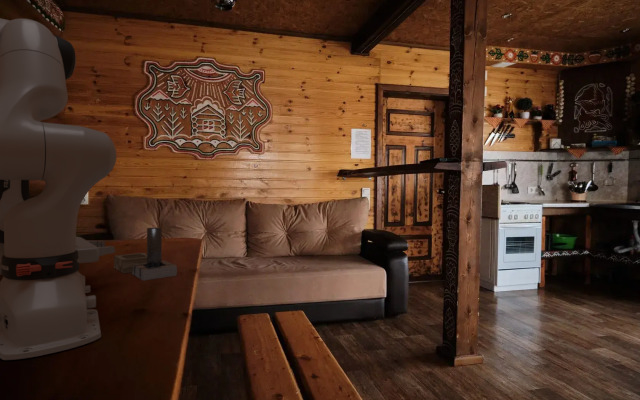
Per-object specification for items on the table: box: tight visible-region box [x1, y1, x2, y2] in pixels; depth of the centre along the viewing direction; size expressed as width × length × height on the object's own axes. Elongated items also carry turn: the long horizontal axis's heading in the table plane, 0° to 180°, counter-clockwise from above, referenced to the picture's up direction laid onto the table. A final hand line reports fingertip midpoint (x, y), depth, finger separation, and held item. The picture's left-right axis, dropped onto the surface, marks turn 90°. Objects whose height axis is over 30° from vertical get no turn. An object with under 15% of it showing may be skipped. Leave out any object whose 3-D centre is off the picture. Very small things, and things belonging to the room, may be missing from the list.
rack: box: [113, 252, 147, 274], centre depth 122 cm, size 9×9×4 cm
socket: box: [131, 259, 178, 282], centre depth 115 cm, size 10×10×3 cm
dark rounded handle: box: [146, 227, 163, 268], centre depth 115 cm, size 4×4×14 cm
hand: (109, 246), depth 107 cm, fingers open, 8 cm apart
